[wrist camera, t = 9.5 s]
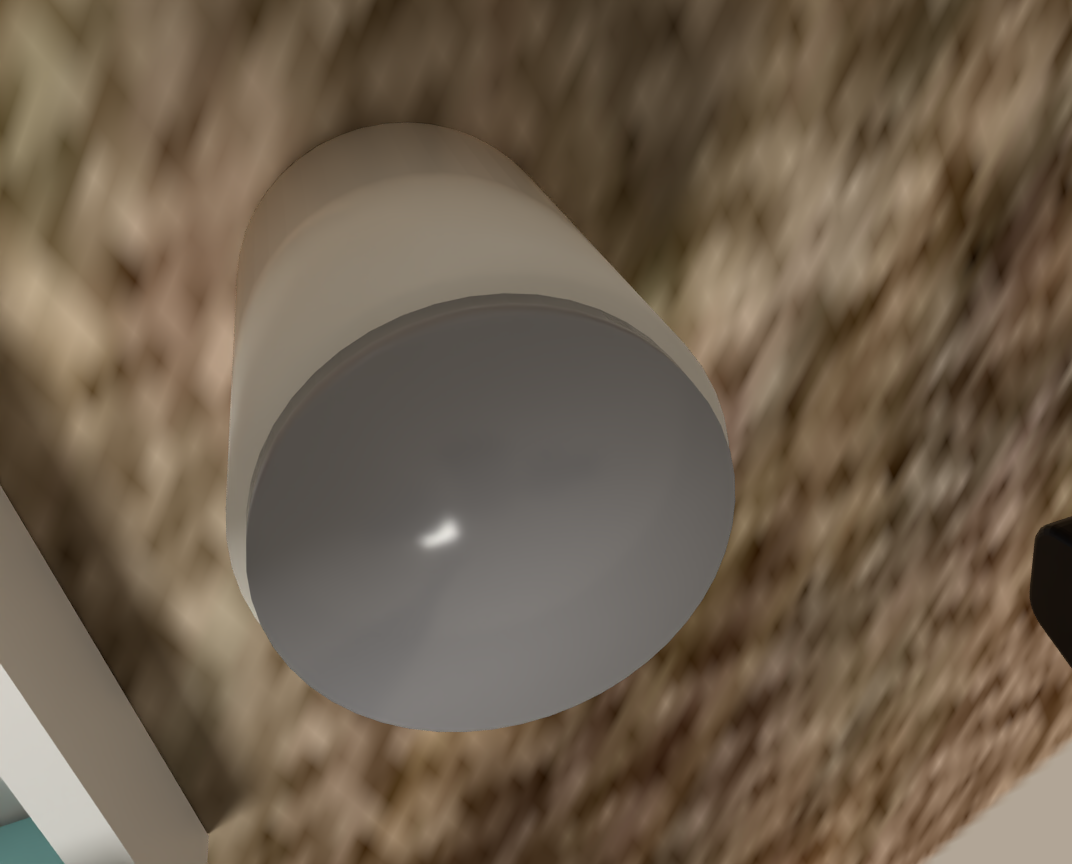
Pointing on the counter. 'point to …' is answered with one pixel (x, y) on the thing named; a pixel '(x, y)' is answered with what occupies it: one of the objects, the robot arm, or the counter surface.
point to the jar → (459, 441)
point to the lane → (76, 731)
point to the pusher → (25, 845)
